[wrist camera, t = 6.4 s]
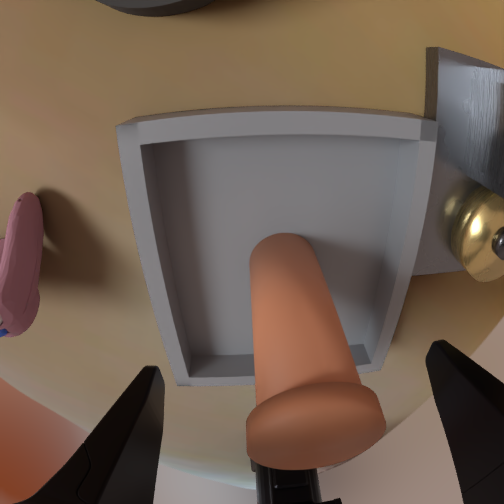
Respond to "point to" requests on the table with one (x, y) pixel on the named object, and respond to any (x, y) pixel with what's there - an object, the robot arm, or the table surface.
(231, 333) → the tray
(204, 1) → the media streaming box
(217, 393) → the table surface
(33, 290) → the video game controller
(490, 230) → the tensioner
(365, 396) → the pin
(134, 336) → the table surface
